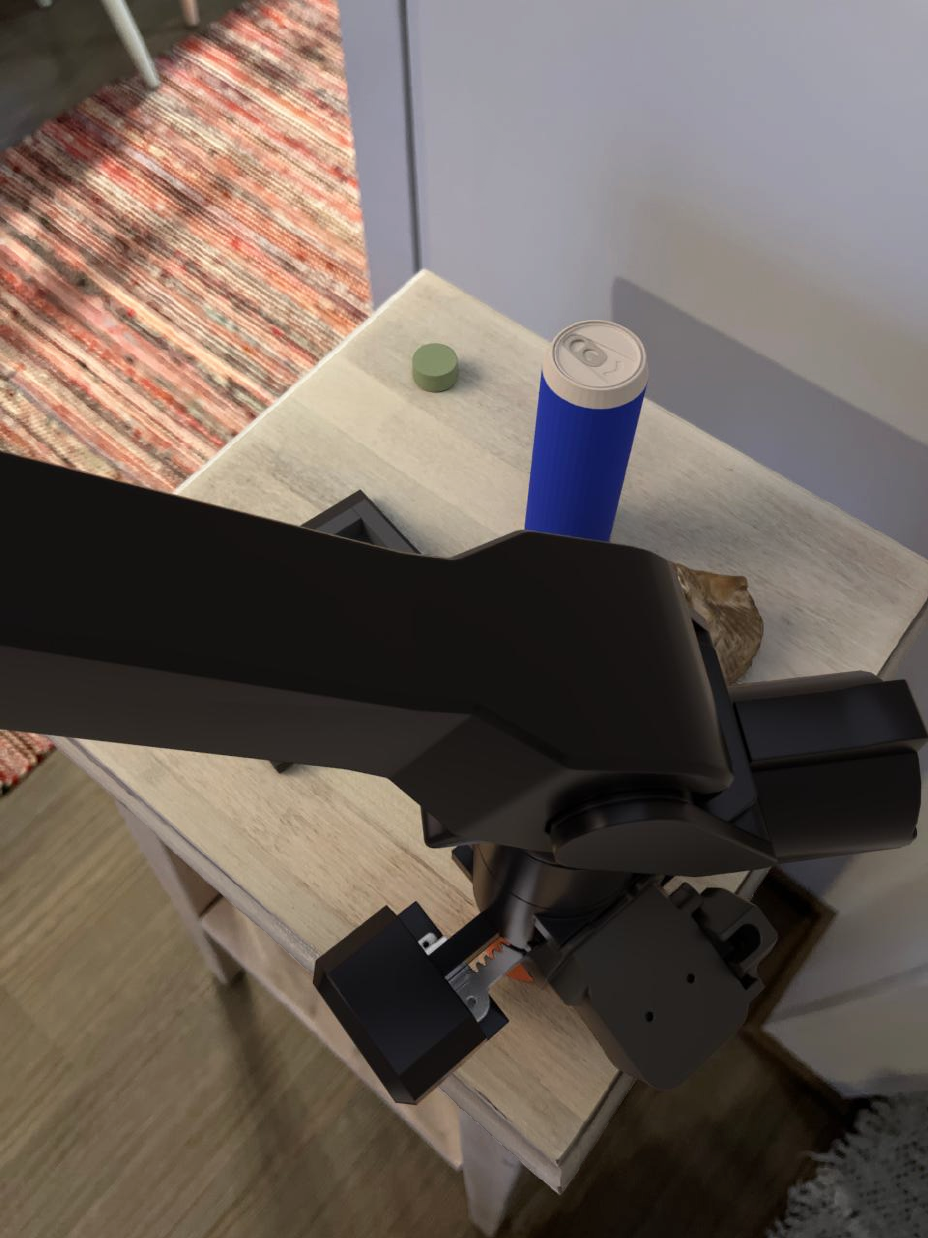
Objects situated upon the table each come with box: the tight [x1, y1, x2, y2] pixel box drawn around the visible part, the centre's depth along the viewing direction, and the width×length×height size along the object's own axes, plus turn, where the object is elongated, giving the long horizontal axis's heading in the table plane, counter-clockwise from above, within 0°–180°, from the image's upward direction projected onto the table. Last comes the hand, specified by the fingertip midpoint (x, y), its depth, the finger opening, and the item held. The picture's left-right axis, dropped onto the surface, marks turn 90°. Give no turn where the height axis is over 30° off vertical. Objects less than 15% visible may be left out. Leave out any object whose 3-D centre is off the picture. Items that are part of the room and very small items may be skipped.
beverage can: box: [523, 319, 650, 542], centre depth 53 cm, size 5×5×15 cm
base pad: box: [268, 489, 422, 774], centre depth 56 cm, size 14×12×2 cm
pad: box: [411, 342, 459, 393], centre depth 66 cm, size 3×3×2 cm
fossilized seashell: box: [666, 559, 765, 686], centre depth 54 cm, size 8×7×10 cm
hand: (528, 933), depth 47 cm, fingers open, 7 cm apart
